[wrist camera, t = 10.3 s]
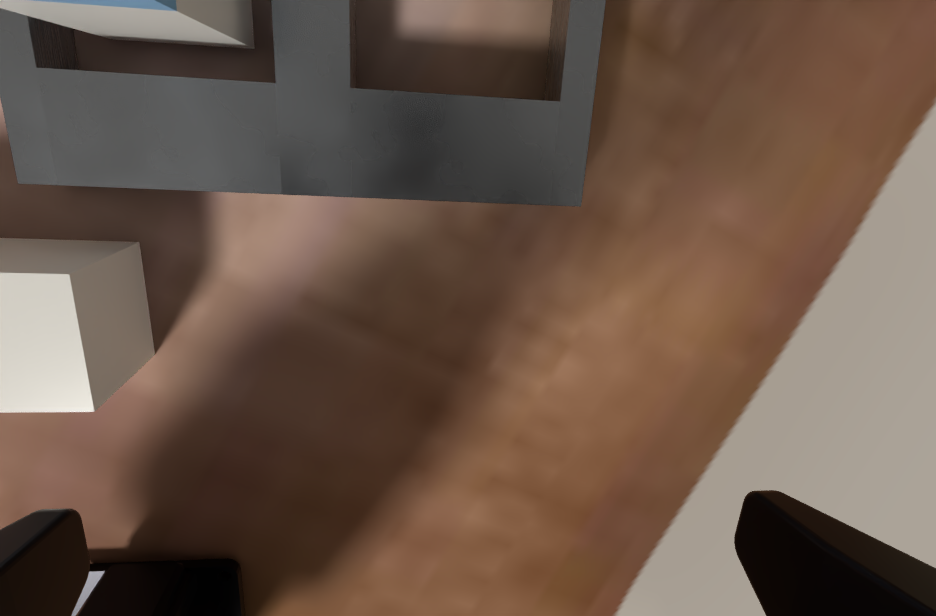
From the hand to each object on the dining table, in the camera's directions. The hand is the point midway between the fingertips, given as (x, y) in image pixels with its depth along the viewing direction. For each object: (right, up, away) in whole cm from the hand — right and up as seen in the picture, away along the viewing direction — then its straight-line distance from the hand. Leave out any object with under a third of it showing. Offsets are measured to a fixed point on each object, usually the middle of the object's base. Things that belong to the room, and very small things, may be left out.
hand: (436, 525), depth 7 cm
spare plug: (-14, +3, +11) cm, 18 cm away
